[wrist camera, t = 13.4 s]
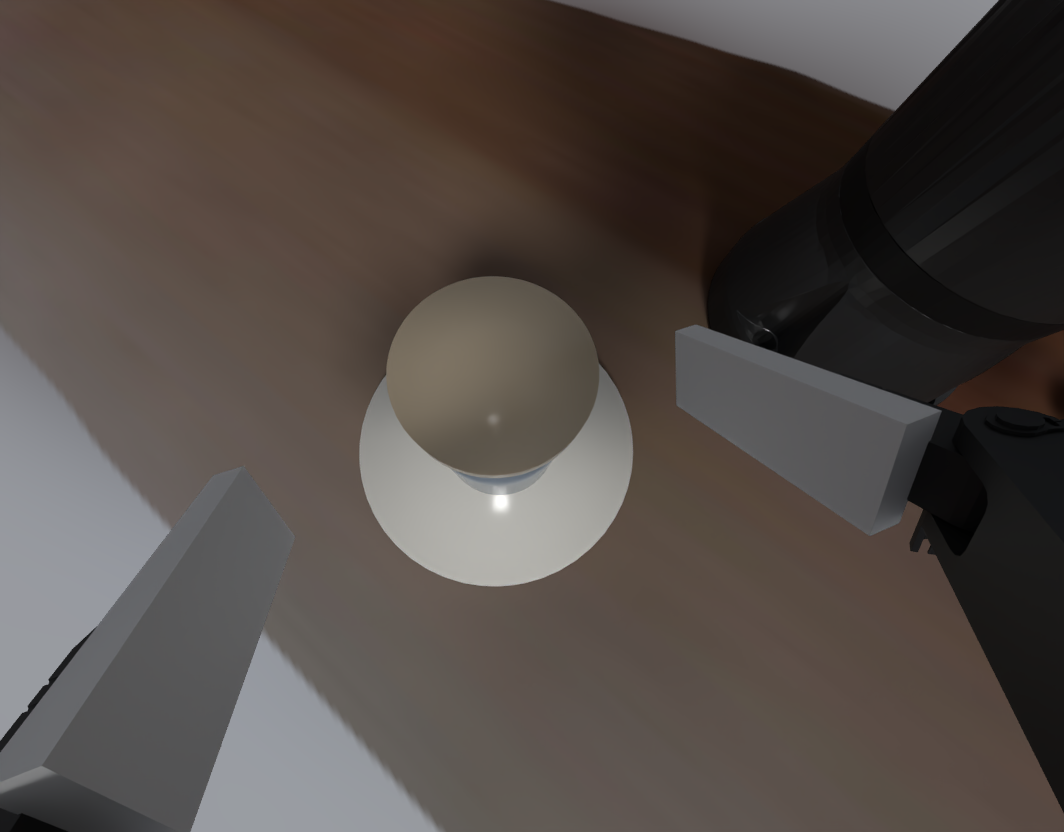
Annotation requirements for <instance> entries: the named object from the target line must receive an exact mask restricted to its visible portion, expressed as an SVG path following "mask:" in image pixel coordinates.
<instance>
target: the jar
mask: <svg viewBox="0 0 1064 832" xmlns="http://www.w3.org/2000/svg"><path fill="white" fill-rule="evenodd" d="M386 381H387V389H388V394H389V398H390V402H391V405H392V408H393V410H394V412H395V415H396V417H397V419H398V420H399V422H400V424H401V425H402V427H403V428H404V430H405V431H406V432H407V433H408V435H409V436H410V437H411V438H412V439H413V441H415V442H416V443H417V444H418V445H419V446H420V447H421V448H422V449H423V450H424V451H425V452H427V453H428V454H429V455H430V456H431V457H432V458H434V459H435V460H437V461H438V462H440V463H441V464H442V465H444V466H446V467H448V468H450V469H451V470H452V471H453V472H454V473H455V474H456V475H457V476H458V477H459V478H460V479H461V480H462V481H463V482H465V483H466V484H467V485H469V486H470V487H471V488H473V489H475V490H477V491H480V492H483V493H486V494H491V495H508V494H513V493H517V492H519V491H522V490H524V489H526V488H528V487H530V486H531V485H532V484H534V483H535V482H536V481H537V480H538V479H540V477H541V476H542V475H543V474H544V473H545V471H546V470H547V468H548V467H549V465H550V464H551V462H552V460H553V459H555V458H556V457H557V456H558V455H559V454H561V453H562V452H563V451H564V450H565V449H566V448H567V447H568V446H569V445H570V443H571V442H572V441H573V440H574V439H575V437H576V436H577V435H578V433H579V432H580V430H581V429H582V427H583V426H584V424H585V423H586V421H587V420H588V418H589V416H590V413H591V411H592V409H593V407H594V404H595V400H596V397H597V393H598V386H599V363H598V356H597V352H596V348H595V345H594V342H593V340H592V338H591V335H590V333H589V331H588V329H587V328H586V326H585V324H584V323H583V321H582V320H581V319H580V317H579V316H578V315H577V314H576V312H575V311H574V310H573V309H572V308H571V307H570V306H569V305H568V304H567V303H566V302H564V301H563V300H562V299H560V298H559V297H558V296H556V295H555V294H553V293H551V292H550V291H548V290H546V289H545V288H542V287H540V286H538V285H536V284H533V283H530V282H527V281H524V280H520V279H515V278H510V277H500V276H486V277H477V278H470V279H466V280H462V281H459V282H456V283H453V284H451V285H448V286H446V287H444V288H442V289H440V290H438V291H436V292H434V293H433V294H431V295H430V296H428V297H427V298H426V299H424V300H423V301H422V302H421V303H420V304H418V305H417V306H416V307H415V308H414V309H413V310H412V311H411V313H410V314H409V315H408V316H407V317H406V318H405V320H404V321H403V323H402V324H401V326H400V327H399V329H398V331H397V333H396V335H395V337H394V339H393V342H392V345H391V348H390V351H389V355H388V361H387V371H386Z"/></svg>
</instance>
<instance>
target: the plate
mask: <svg viewBox="0 0 1064 832" xmlns="http://www.w3.org/2000/svg"><path fill="white" fill-rule="evenodd" d="M632 460H633V442H632V432H631V427H630V422H629V417H628V414H627V411H626V408H625V405H624V402H623V400H622V398H621V396H620V394H619V392H618V390H617V388H616V386H615V384H614V383H613V381H612V380H611V378H610V377H609V375H608V374H607V372H606V371H605V370H604V369H603V368H602V366H601V365H600V364H599V386H598V393H597V397H596V400H595V404H594V407H593V409H592V411H591V413H590V416H589V418H588V420H587V421H586V423H585V424H584V426H583V427H582V429H581V430H580V432H579V433H578V435H577V436H576V437H575V439H574V440H573V441H572V442H571V443H570V445H569V446H568V447H567V448H566V449H565V450H564V451H563V452H562V453H561V454H559V455H558V456H557V457H556V458H555V459H553V460H552V462H551V464H550V465H549V467H548V468H547V470H546V471H545V473H544V474H543V475H542V476H541V477H540V479H538V480H537V481H536V482H535V483H534V484H532V485H531V486H530V487H528V488H526V489H524V490H522V491H519V492H517V493H513V494H508V495H491V494H486V493H483V492H480V491H477V490H475V489H473V488H471V487H470V486H469V485H467V484H466V483H465V482H463V481H462V480H461V479H460V478H459V477H458V476H457V475H456V474H455V473H454V472H453V471H452V470H451V469H450V468H448V467H446V466H444V465H442V464H441V463H440V462H438V461H437V460H435V459H434V458H432V457H431V456H430V455H429V454H428V453H427V452H425V451H424V450H423V449H422V448H421V447H420V446H419V445H418V444H417V443H416V442H415V441H413V439H412V438H411V437H410V436H409V435H408V433H407V432H406V431H405V430H404V428H403V427H402V425H401V424H400V422H399V420H398V419H397V417H396V415H395V412H394V410H393V408H392V405H391V402H390V398H389V394H388V389H387V381H386V376H385V377H384V378H383V380H382V381H381V383H380V385H379V386H378V388H377V390H376V391H375V393H374V395H373V397H372V400H371V402H370V404H369V406H368V409H367V412H366V415H365V419H364V422H363V426H362V432H361V438H360V461H359V462H360V470H361V478H362V483H363V486H364V490H365V493H366V497H367V500H368V502H369V504H370V506H371V509H372V511H373V513H374V515H375V517H376V519H377V520H378V522H379V523H380V525H381V527H382V528H383V530H384V531H385V533H386V534H387V535H388V536H389V537H390V538H391V540H392V541H393V542H394V543H395V544H396V546H398V547H399V548H400V549H401V550H402V551H403V552H404V553H405V554H407V555H408V556H409V557H410V558H411V559H413V560H414V561H416V562H417V563H419V564H420V565H422V566H423V567H425V568H426V569H428V570H430V571H432V572H435V573H437V574H439V575H441V576H443V577H445V578H449V579H452V580H455V581H459V582H462V583H467V584H473V585H480V586H508V585H516V584H523V583H527V582H530V581H534V580H537V579H541V578H544V577H546V576H548V575H550V574H553V573H555V572H557V571H560V570H561V569H563V568H564V567H566V566H568V565H569V564H571V563H573V562H574V561H576V560H577V559H578V558H580V557H581V556H582V555H583V554H584V553H586V552H587V551H588V550H589V549H590V548H591V547H592V546H593V545H594V544H595V543H596V542H597V541H598V540H599V539H600V538H601V537H602V536H603V534H604V533H605V532H606V530H607V529H608V527H609V526H610V524H611V523H612V522H613V520H614V518H615V517H616V515H617V513H618V511H619V509H620V507H621V505H622V503H623V500H624V497H625V494H626V491H627V488H628V485H629V480H630V476H631V471H632Z"/></svg>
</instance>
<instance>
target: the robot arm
mask: <svg viewBox="0 0 1064 832" xmlns="http://www.w3.org/2000/svg"><path fill="white" fill-rule="evenodd" d="M708 316H709V323H710V327H711V330H710V329H707V328H705V327H702V326H699V325H693V326H690V327H687V328H683V329H680V330H677V331H675V350H676V405H677V406H678V407H680V408H681V409H683V410H684V411H686V412H687V413H689V414H690V415H692V416H693V417H695V418H696V419H697V420H699V421H700V422H702V423H703V424H705V425H706V426H708V427H709V428H711V429H712V430H714V431H715V432H717V433H718V434H720V435H721V436H723V437H724V438H726V439H727V440H729V441H730V442H731V443H733V444H734V445H736V446H737V447H739V448H740V449H742V450H743V451H745V452H746V453H748V454H749V455H751V456H752V457H754V458H755V459H757V460H758V461H760V462H761V463H762V464H764V465H765V466H767V467H768V468H770V469H771V470H773V471H774V472H776V473H777V474H779V475H780V476H782V477H783V478H785V479H786V480H788V481H789V482H791V483H792V484H794V485H795V486H796V487H798V488H799V489H801V490H802V491H804V492H805V493H807V494H808V495H810V496H811V497H813V498H814V499H816V500H817V501H819V502H820V503H822V504H823V505H825V506H826V507H828V508H829V509H830V510H832V511H833V512H835V513H836V514H838V515H839V516H841V517H842V518H844V519H845V520H847V521H848V522H850V523H851V524H853V525H854V526H856V527H857V528H859V529H860V530H861V531H863V532H864V533H866V534H867V535H869V536H871V535H873V534H876V533H878V532H880V531H882V530H885V529H887V528H889V527H892V526H894V525H896V524H898V523H899V522H900V520H901V517H902V514H903V512H904V509H905V507H906V504H907V501H910V502H912V503H914V504H915V505H917V506H919V507H921V508H923V512H922V514H921V517H920V519H919V521H918V524H917V526H916V529H915V531H914V533H913V536H912V538H911V541H910V551H913V552H918V550H919V548H920V546H921V543H922V541H923V539H928V540H929V542H930V544H931V546H930V548H929V550H928V554H933V555H936V556H937V558H938V560H939V562H940V564H941V566H942V568H943V570H944V572H945V574H946V576H947V578H948V580H949V582H950V584H951V586H952V588H953V590H954V592H955V595H956V597H957V599H958V601H959V603H960V605H961V607H962V609H963V611H964V613H965V615H966V617H967V619H968V621H969V623H970V625H971V627H972V629H973V631H974V633H975V635H976V637H977V639H978V641H979V643H980V645H981V647H982V649H983V651H984V653H985V655H986V657H987V659H988V661H989V663H990V665H991V667H992V669H993V671H994V673H995V675H996V677H997V679H998V681H999V683H1000V685H1001V687H1002V689H1003V691H1004V693H1005V695H1006V697H1007V699H1008V701H1009V703H1010V705H1011V707H1012V709H1013V711H1014V714H1015V716H1016V718H1017V720H1018V722H1019V724H1020V726H1021V728H1022V730H1023V732H1024V734H1025V736H1026V738H1027V740H1028V742H1029V744H1030V746H1031V748H1032V750H1033V752H1034V754H1035V756H1036V758H1037V760H1038V762H1039V764H1040V766H1041V768H1042V770H1043V772H1044V774H1045V776H1046V778H1047V780H1048V782H1049V784H1050V786H1051V788H1052V790H1053V792H1054V794H1055V796H1056V798H1057V800H1058V802H1059V804H1060V806H1061V808H1062V810H1063V812H1064V419H1062V420H1059V419H1057V418H1055V417H1052V416H1048V415H1045V414H1042V413H1039V412H1034V411H1029V410H1024V409H1019V408H1009V407H998V406H996V407H979V408H976V409H972V410H969V411H967V412H966V413H965V414H964V415H962V414H959V413H956V412H953V411H950V410H947V409H944V408H941V407H938V406H936V405H938V404H939V403H941V402H942V401H943V400H945V399H946V398H947V397H948V396H949V395H950V394H951V393H952V392H953V391H954V390H955V389H956V387H957V386H958V385H960V384H962V383H965V382H967V381H969V380H971V379H972V378H974V377H976V376H978V375H979V374H981V373H983V372H984V371H986V370H988V369H989V368H991V367H992V366H994V365H996V364H997V363H998V362H1000V361H1001V360H1003V359H1004V358H1006V357H1007V356H1009V355H1010V354H1012V353H1013V352H1015V351H1016V350H1018V349H1019V348H1021V347H1022V346H1024V345H1025V344H1027V343H1029V342H1032V341H1035V340H1037V339H1040V338H1043V337H1045V336H1048V335H1050V334H1053V333H1056V332H1059V331H1061V330H1064V0H999V1H998V2H997V3H996V4H995V5H994V6H993V7H992V8H991V9H990V10H989V11H988V12H987V13H986V15H985V16H984V17H983V18H982V19H981V20H980V21H979V22H978V23H977V24H976V26H974V27H973V28H972V30H971V31H970V32H969V33H968V34H967V35H966V36H965V37H964V38H963V39H962V40H961V41H960V42H959V43H958V44H957V46H956V47H955V48H954V49H953V50H952V51H951V52H950V53H949V54H948V55H947V56H946V57H945V58H944V59H943V61H942V62H941V63H940V64H939V65H938V66H937V67H936V68H935V69H934V70H933V71H932V72H931V73H930V74H929V76H928V77H927V78H926V79H925V80H924V81H923V82H922V83H921V84H920V85H919V86H918V87H917V88H916V89H915V90H914V92H913V93H912V94H911V95H910V96H909V97H908V98H907V99H906V100H905V101H904V102H903V103H902V104H901V105H900V106H899V108H898V109H897V110H896V111H895V112H894V113H893V114H892V115H891V116H890V117H889V118H888V119H887V120H886V121H885V123H884V124H883V125H882V126H881V127H880V128H879V129H878V130H877V131H876V133H875V134H874V135H873V136H872V137H871V138H870V139H869V140H868V141H867V142H866V143H865V144H864V145H863V147H862V148H861V149H860V150H859V151H858V152H857V153H856V154H855V155H854V156H853V157H852V158H851V159H850V160H849V161H848V162H847V163H846V164H845V165H844V166H843V167H842V168H841V169H840V170H838V171H837V172H835V173H834V174H832V175H830V176H829V177H827V178H826V179H824V180H823V181H821V182H820V183H818V184H817V185H815V186H814V187H812V188H811V189H809V190H807V191H806V192H804V193H803V194H801V195H800V196H798V197H797V198H795V199H794V200H792V201H791V202H789V203H788V204H786V205H785V206H783V207H782V208H780V209H779V210H777V211H776V212H774V213H773V214H771V215H770V216H768V217H766V218H765V219H763V220H762V221H760V222H759V223H757V224H756V225H754V226H753V227H752V228H751V229H750V230H749V231H748V232H746V233H745V234H744V235H743V236H742V238H741V239H740V240H739V241H738V242H737V243H736V245H735V246H734V247H733V248H732V250H731V251H730V252H729V253H728V255H727V256H726V257H725V258H724V260H723V261H722V262H721V264H720V265H719V267H718V269H717V270H716V272H715V274H714V277H713V279H712V282H711V286H710V290H709V297H708ZM294 539H295V536H294V534H293V533H292V532H291V530H290V529H289V528H288V526H287V525H286V523H285V522H284V521H283V519H282V518H281V517H280V515H279V514H278V512H277V511H276V510H275V508H274V507H273V506H272V504H271V503H270V501H269V500H268V499H267V497H266V496H265V495H264V493H263V492H262V490H261V489H260V488H259V486H258V485H257V484H256V482H255V481H254V479H253V478H252V477H251V475H250V474H249V473H248V471H247V470H246V468H245V467H244V466H242V467H239V468H235V469H232V470H229V471H226V472H223V473H219V474H216V475H213V476H212V478H211V479H210V480H209V482H208V483H207V484H206V486H205V487H204V488H203V489H202V491H201V492H200V493H199V495H198V496H197V497H196V499H195V500H194V501H193V502H192V504H191V505H190V506H189V508H188V509H187V510H186V512H185V513H184V514H183V515H182V517H181V518H180V519H179V521H178V522H177V523H176V525H175V526H174V527H173V528H172V530H171V531H170V532H169V534H168V535H167V536H166V538H165V539H164V540H163V541H162V543H161V544H160V545H159V547H158V548H157V549H156V551H155V552H154V553H153V554H152V556H151V557H150V558H149V560H148V561H147V562H146V564H145V565H144V566H143V567H142V569H141V570H140V571H139V573H138V574H137V575H136V577H135V578H134V579H133V581H132V582H131V583H130V584H129V586H128V587H127V588H126V590H125V591H124V592H123V594H122V595H121V596H120V597H119V599H118V600H117V601H116V603H115V604H114V605H113V607H112V608H111V609H110V610H109V612H108V613H107V614H106V616H105V617H104V618H103V620H102V621H101V622H100V623H99V625H98V626H97V627H96V628H95V629H94V630H93V631H91V633H89V634H88V635H87V636H86V637H85V638H84V639H83V640H82V641H81V642H80V643H79V644H78V645H76V646H75V647H74V648H73V649H72V651H71V652H70V653H69V654H68V655H67V657H66V658H65V659H64V661H63V662H62V663H61V664H60V666H59V667H58V668H57V669H56V671H55V672H54V673H53V674H52V676H51V677H50V678H49V684H48V685H45V686H43V687H42V689H41V690H40V691H39V693H38V694H37V695H36V696H35V697H34V699H33V700H32V701H31V702H30V704H29V705H28V711H27V712H24V713H22V714H21V715H20V716H19V718H18V719H17V720H16V722H15V723H14V724H13V725H12V727H11V728H10V729H9V730H8V732H7V733H6V734H5V736H4V737H3V738H2V740H1V741H0V832H190V831H191V828H192V825H193V823H194V820H195V817H196V814H197V811H198V809H199V806H200V803H201V800H202V797H203V795H204V791H205V789H206V786H207V783H208V781H209V778H210V775H211V772H212V769H213V767H214V763H215V761H216V758H217V755H218V752H219V750H220V747H221V744H222V741H223V738H224V735H225V733H226V730H227V727H228V724H229V722H230V719H231V716H232V713H233V710H234V708H235V705H236V702H237V699H238V696H239V694H240V690H241V688H242V685H243V682H244V680H245V677H246V674H247V671H248V668H249V666H250V663H251V660H252V657H253V654H254V651H255V649H256V646H257V643H258V640H259V638H260V635H261V632H262V629H263V626H264V623H265V621H266V618H267V615H268V612H269V609H270V607H271V604H272V601H273V598H274V595H275V593H276V590H277V587H278V584H279V581H280V579H281V576H282V573H283V570H284V567H285V565H286V562H287V559H288V556H289V553H290V551H291V548H292V545H293V542H294Z"/></svg>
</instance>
